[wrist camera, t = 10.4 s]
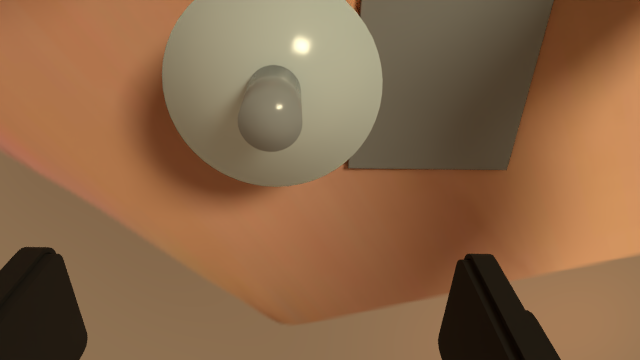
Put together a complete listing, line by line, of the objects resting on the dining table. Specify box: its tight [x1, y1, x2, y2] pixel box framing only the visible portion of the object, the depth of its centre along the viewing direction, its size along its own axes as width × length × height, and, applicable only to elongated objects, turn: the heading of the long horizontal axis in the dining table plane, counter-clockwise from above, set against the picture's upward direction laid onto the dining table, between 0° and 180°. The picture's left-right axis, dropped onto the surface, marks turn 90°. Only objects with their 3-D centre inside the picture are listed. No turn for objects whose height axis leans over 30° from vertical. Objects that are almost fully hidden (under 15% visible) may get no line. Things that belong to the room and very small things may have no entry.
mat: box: [348, 0, 554, 170], centre depth 34 cm, size 14×14×1 cm
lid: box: [162, 0, 383, 187], centre depth 24 cm, size 13×13×6 cm
